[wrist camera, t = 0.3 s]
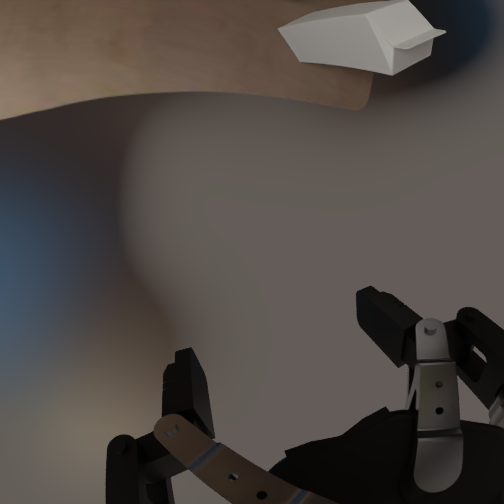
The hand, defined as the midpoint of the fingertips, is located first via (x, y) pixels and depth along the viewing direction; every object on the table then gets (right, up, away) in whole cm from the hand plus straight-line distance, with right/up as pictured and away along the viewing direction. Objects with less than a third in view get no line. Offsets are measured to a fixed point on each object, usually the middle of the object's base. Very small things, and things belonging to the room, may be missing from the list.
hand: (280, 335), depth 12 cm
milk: (+6, +33, +16) cm, 37 cm away
